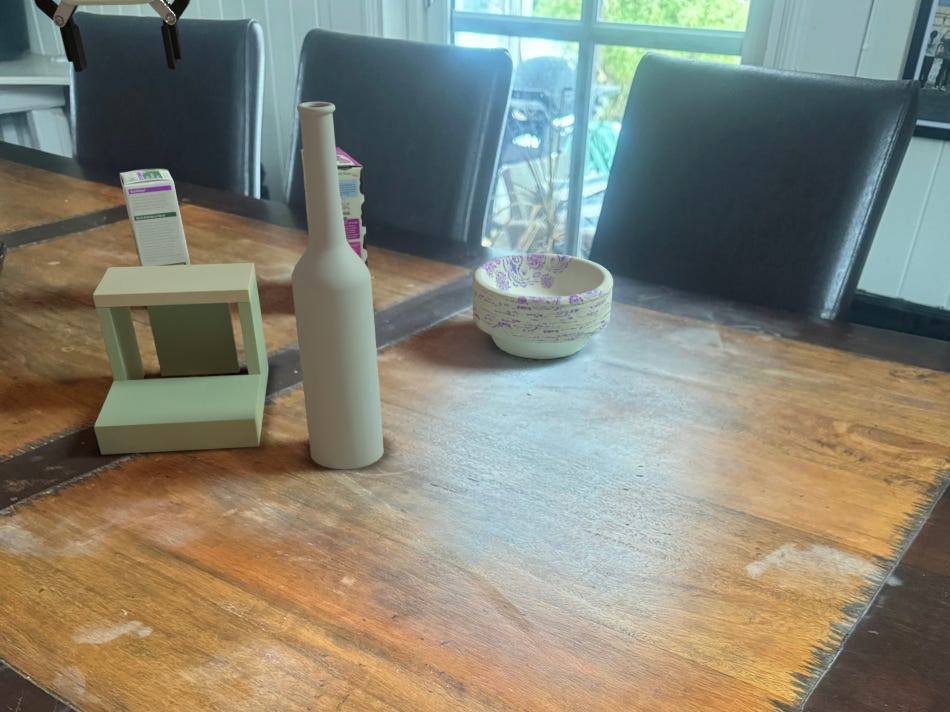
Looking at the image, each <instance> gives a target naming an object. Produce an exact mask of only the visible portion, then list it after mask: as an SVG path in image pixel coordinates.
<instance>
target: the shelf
mask: <svg viewBox="0 0 950 712" xmlns="http://www.w3.org/2000/svg"><path fill="white" fill-rule="evenodd" d="M256 276H257V275H256V268H255V263H254V262H237V263H236V262H234V263H206V264H205V263H203V264H199V263H198V264H190V265H169V266H140V265H138V266H111V267H107V269H106V271H105V273H104V275H103V276H102V278H101V280H100V281H99V283H98V284H97V287H96V288H95V290H94V292H93V293H92V298H93V302H94V303H93V304H94V306H95V310H96V314H97V319H98V322H99V326H100V331H101V334H102V339H103V343H104V346H105V350H106V355H107V360H108V363H109V366H110V371H111V375H112V379H113V382H112V384H111V386H110V389H109V391H108V393H107V396H106V398H105V400H104V402H103V405H102V407H101V410H100V412H99V414H98V416H97V418H96V421H95V423H94V425H93V429H94V433H95V436H96V440H97V443H98V448H99V451H100V455H117V454H120V455H121V454H137V453H139V454H140V453H157V452H176V451H194V450H196V451H197V450H214V449H216V450H217V449H234V448H254V447H255V448H256V447H260V444H261V443H260V442H261V434H262V426H263V419H264V418H263V417H264V409H265V403H266V402H265V401H266V393H267V384H268V377H269V369H270V368H269V362H268V361H269V360H268V354H267V346H266V340H265V332H264V326H263V318H262V312H261V311H262V310H261V303H260V298H259V289H258V284H257V283H258V282H257V277H256ZM231 303H237V309H238V315H239V322H240V329H241V334H242V341H243V347H244V348H243V349H244V354H245V361H246V369H247V373H248V374H240V372H241V369H240V368H241V367H240V361H239V356H238V349H237V343H236V337H235V330H234V324H233V318H232V312H231V305H230V304H231ZM131 307H146V310H147V315H148V319H149V323H150V328H151V333H152V338H153V342H154V346H155V347H154V348H155V352H156V357H157V360H158V365H159V369H160V371H159V372H160V374H161V377H165V378H144V377H145V375H146V373H145V368H144V363H143V361H142V360H143V359H142V355H141V352H140V351H141V350H140V346H139V343H138V337H137V334H136V329H135V324H134V321H133V316H132V311H131ZM217 374H218V375H217ZM219 374H220V375H219ZM221 374H233V375H221ZM194 375H195V376H194ZM196 375H211V376H196ZM213 375H214V376H213ZM173 376H188V377H173ZM189 376H190V377H189ZM166 377H167V378H166Z"/></svg>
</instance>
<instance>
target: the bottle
mask: <svg viewBox="0 0 950 712" xmlns="http://www.w3.org/2000/svg"><path fill="white" fill-rule="evenodd" d="M296 110H297V112H298V113H299V120H300V121H299V122H300V131H301V132H300V133H301V141H302V149H303V153H304V164H305V175H306V185H307V202H308V221H307V226H308V225H309V233H308V244H307V246H306V248H305V250H304V252H303V253H302V255H301V257H300V258H299V259H298V261H297V262H296V264H295V266H294V267H293V270H292V273H291V287H292V296H293V305H294V306H293V307H294V315H295V324H296V332H297V341H298V342H297V343H298V352H299V362H300V370H301V378H302V386H303V397H304V407H305V415H306V426H307V432H308V441H309V450H310V456H311V457H310V458H311V459H312V460H313V461H314V462H315V463H316V464H318V465H320V466H322V467H325V468H329V469H334V470H352V469H361V468H364V467H367V466H370V465H372V464H374V463H376V462H377V461H379V460H380V459H381V458H382V457H383V455H384V452H385V451H384V435H383V433H384V432H383V420H382V419H383V417H382V407H381V406H382V404H381V391H380V377H379V366H378V353H377V339H376V327H375V325H376V323H375V315H374V314H375V312H374V311H375V310H374V301H373V286H372V275H371V271H370V270H369V267H368V268H367V266H366V264H365V263H364V261H363V260H362V259H361V258H360V257H359V256H358V255H357V254H356V253H355V251H354V250H353V249H352V248H351V246H350V245H349V244H348V242H347V239H346V234H345V226H344V219H343V212H342V205H341V198H340V191H339V180H338V169H337V158H336V147H337V146H336V138H335V125H334V115H333V113H334V112H335V111H336V105H335V104H334V103H332V102H327V101H307V102H302V103H298V105H296Z"/></svg>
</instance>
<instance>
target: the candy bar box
mask: <svg viewBox="0 0 950 712" xmlns="http://www.w3.org/2000/svg"><path fill="white" fill-rule="evenodd" d="M335 147H336V158H337V169H338V180H339V191H340V198H341V205H342V212H343V219H344V226H345V234H346V239H347V242H348V244H349V245H350V246H351V248H352V249H353V250H354V251H355V253H356V254H357V255H358V256H359V257H360V258H361V259H362V260H363V261H364V263H365V264H366V266H367V268H368V269H369V265H368V247H367V246H368V245H367V244H368V243H367V227H366V224H367V223H366V207H365V206H366V205H365V204H366V203H365V188H364V171H363V170H364V169H363V168H364V167H363V165H362V164H361V163H359V162H358V161H356V160H355V159H354V158H353V157H351V156H350V154H348V153H347V152H345V151H344V150H343V149H341V148H340V147H339V146H338V147H337V146H335ZM300 156H301V164H302V165H301V166H302V174H303V175H302V176H303V189H304V199H305V208H306V209H305V210H306V220H307V222H308V202H307V185H306V175H305V164H304V153H303V148H302V149H300ZM307 230H308V231H307V232H308V234H309V225H308V224H307Z"/></svg>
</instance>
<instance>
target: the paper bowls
mask: <svg viewBox="0 0 950 712" xmlns="http://www.w3.org/2000/svg"><path fill="white" fill-rule="evenodd" d="M613 287H614V278H613V275H612V274H611V272H610V271H609V270H608V269H607V268H605V267H604V266H603V265H601V264H599V263H597V262H594V261H592V260H589V259H586V258H582V257H578V256H574V255H568V254H562V253H561V254H560V253H550V252H549V253H547V252H532V253H531V252H529V253H518V254H510V255H504V256H500V257H495V258H493V259H490V260H488V261H485V262H483V263H482V264H480V265H479V266H478V267H477V268H476V269H475V271H474V273H473V275H472V319H473V322H474V324H475V325H476V327H477V328H479V330H481V331H482V332H484V333H486V334H487V335H490V336H491V339H492V340H493V342H494V343H495V345H496V346H497V348H499V349H500V350H501V351H503V352H505V353H507V354H509V355H512V356H515V357H519V358H523V359H532V360H552V359H560V358H566V357H569V356H571V355H574V354H576V353H578V352H579V351H580V350H581V349H583V348H584V347H585V346H586V344H587V343H588V341H589V340H590V338H591V337H594V336H596V335H597V334H599V333H601V332H603V331H604V330H605V329H606V328H607V327H608V326H609V323H610V320H611V311H612V302H613V301H612V300H613Z"/></svg>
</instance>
